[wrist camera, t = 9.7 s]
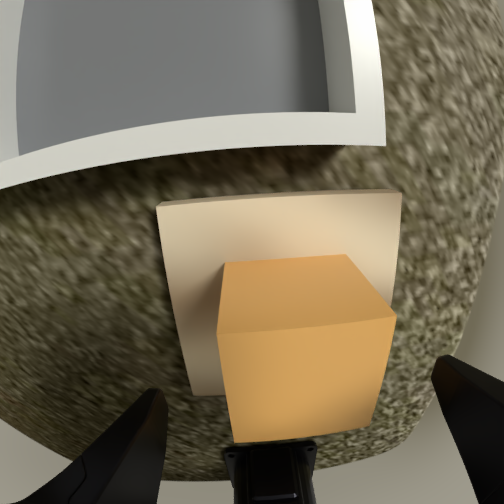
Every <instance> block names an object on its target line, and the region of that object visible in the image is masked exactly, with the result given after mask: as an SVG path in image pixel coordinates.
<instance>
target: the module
mask: <svg viewBox="0 0 504 504" xmlns="http://www.w3.org/2000/svg"><path fill="white" fill-rule="evenodd" d="M396 318H397V315H396V314H395V313H394V312H393V310H392V309H391V308H390V307H389V305H388V304H387V303H386V302H385V300H384V299H383V298H382V297H381V295H380V294H379V293H378V292H377V290H376V289H375V288H374V287H373V286H372V284H371V283H370V282H369V281H368V280H367V278H366V277H365V276H364V275H363V274H362V272H361V271H360V270H359V269H358V268H357V266H356V265H355V264H354V263H353V262H352V261H351V259H350V258H349V257H348V256H347V255H346V254H338V255H324V256H310V257H296V258H282V259H268V260H253V261H238V262H225V265H224V273H223V281H222V290H221V298H220V307H219V315H218V324H217V333H216V335H217V341H218V348H219V355H220V361H221V368H222V374H223V380H224V386H225V392H226V398H227V404H228V410H229V415H230V421H231V426H232V432H233V437H234V443H242V442H260V441H273V440H284V439H293V438H302V437H310V436H317V435H323V434H330V433H336V432H341V431H347V430H352V429H357V428H362V427H367V426H369V425H370V422H371V419H372V416H373V412H374V409H375V406H376V402H377V399H378V395H379V392H380V388H381V384H382V381H383V377H384V373H385V369H386V365H387V361H388V356H389V352H390V348H391V343H392V338H393V333H394V328H395V323H396Z"/></svg>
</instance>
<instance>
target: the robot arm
mask: <svg viewBox="0 0 504 504" xmlns="http://www.w3.org/2000/svg"><path fill="white" fill-rule="evenodd" d="M431 380H432V384H433V386H434V389H435V392H436V395H437V398H438V401H439V404H440V407H441V410H442V413H443V415H444V418H445V420H446V422H447V424H448V427H449V429H450V431H451V433H452V436H453V438H454V441H455V443H456V445H457V448H458V450H459V453H460V455H461V458H462V460H463V463H464V465H465V468H466V470H467V473H468V476H469V478H470V481H471V483H472V486H473V489H474V492H475V495H476V498H477V500H478V503H479V504H504V382H503V381H501V380H499V379H497V378H494V377H493V376H491V375H489V374H486V373H484V372H482V371H481V370H478V369H477V368H474V367H472V366H471V365H469V364H467V363H465V362H462V361H460V360H458V359H456V358H455V357H453V356H451V355H443V356H440V357H438V358H437V360H436V363H435V366H434V368H433V371H432V374H431ZM167 425H168V405H167V402H166V399H165V397H164V394H163V391H162V390H161V389H159V388H149V389H147V390H146V391H145V392H144V393H143V394H142V395H141V396H140V397H139V398H138V399H137V400H136V401H135V402H134V403H133V404H132V405H131V406H130V407H129V408H128V409H127V410H126V411H125V412H124V413H123V414H122V415H121V416H120V417H119V418H118V419H117V420H116V421H115V422H114V423H113V424H112V425H111V426H110V427H109V428H108V429H106V430H105V431H104V432H103V433H102V434H101V435H100V436H99V437H98V438H97V439H96V440H95V441H94V442H93V443H92V444H91V445H90V446H89V447H88V448H87V449H86V450H85V451H84V452H83V453H82V454H81V455H82V456H81V455H79V456H78V457H77V458H76V459H75V460H74V461H73V462H72V463H71V464H70V465H69V466H68V467H67V468H65V469H64V470H63V471H62V472H61V473H59V474H58V475H57V476H56V477H54V478H53V479H52V480H50V481H49V482H48V483H46V484H45V485H43V486H42V487H41V488H39V489H38V490H37V491H35V492H34V493H32V494H31V495H30V496H28V497H26V498H25V499H23V500H21V501H18V502H16V503H11V504H157V498H158V492H159V486H160V481H161V475H162V470H163V465H164V459H165V453H166V440H167ZM316 453H317V445H316V442H313V441H310V442H302V443H294V444H285V445H274V446H261V447H244V448H227V449H225V450H224V457H225V461H226V465H227V469H228V472H229V476H230V480H231V483H232V487H233V488H234V504H316V499H315V494H314V488H313V483H312V475H313V470H314V464H315V459H316Z"/></svg>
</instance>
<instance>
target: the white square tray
mask: <svg viewBox="0 0 504 504" xmlns="http://www.w3.org/2000/svg"><path fill="white" fill-rule="evenodd" d="M284 145H375V146H386V131H385V110H384V95H383V82H382V72H381V62H380V54H379V46H378V38H377V32H376V25H375V19H374V13H373V7H372V2H371V0H0V189H2V188H6V187H9V186H13V185H17V184H20V183H24V182H28V181H32V180H36V179H40V178H44V177H48V176H53V175H57V174H61V173H66V172H70V171H75V170H80V169H85V168H90V167H95V166H100V165H106V164H112V163H117V162H123V161H129V160H136V159H142V158H149V157H156V156H164V155H172V154H180V153H189V152H198V151H208V150H219V149H231V148H245V147H262V146H284Z"/></svg>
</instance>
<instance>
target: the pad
mask: <svg viewBox="0 0 504 504" xmlns="http://www.w3.org/2000/svg"><path fill="white" fill-rule="evenodd" d="M401 199H402V193H400V192H397V191H395V190H392V189H362V190H324V191H299V192H279V193H262V194H247V195H233V196H220V197H208V198H197V199H186V200H176V201H166V202H161V203H160V204H159V205H158V206H156V211H157V218H158V225H159V232H160V238H161V245H162V251H163V257H164V263H165V269H166V274H167V280H168V285H169V291H170V296H171V301H172V306H173V311H174V316H175V321H176V325H177V330H178V335H179V339H180V344H181V348H182V352H183V357H184V361H185V365H186V369H187V373H188V377H189V381H190V385H191V389H192V393H193V396H209V395H226V392H225V386H224V380H223V374H222V368H221V361H220V355H219V348H218V341H217V335H216V333H217V324H218V315H219V307H220V298H221V290H222V281H223V273H224V265H225V262H238V261H253V260H268V259H282V258H296V257H310V256H324V255H338V254H346V255H347V256H348V257H349V258H350V259H351V261H352V262H353V263H354V264H355V265H356V266H357V268H358V269H359V270H360V271H361V272H362V274H363V275H364V276H365V277H366V278H367V280H368V281H369V282H370V283H371V284H372V286H373V287H374V288H375V289H376V290H377V292H378V293H379V294H380V295H381V297H382V298H383V299H384V300H385V302H386V303H387V304H388V305H389V307H390V308H391V301H392V294H393V287H394V280H395V272H396V263H397V254H398V244H399V232H400V218H401Z"/></svg>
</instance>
